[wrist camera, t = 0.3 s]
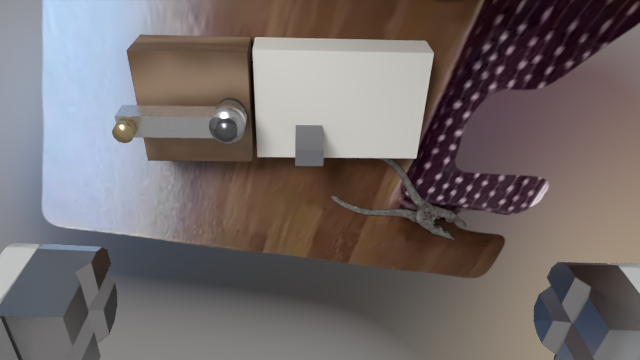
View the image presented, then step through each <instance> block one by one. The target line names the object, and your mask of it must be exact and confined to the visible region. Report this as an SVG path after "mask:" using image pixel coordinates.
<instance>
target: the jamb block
mask: <svg viewBox="0 0 640 360" xmlns="http://www.w3.org/2000/svg"><path fill="white" fill-rule="evenodd" d="M127 55H128V60H129V65H130V71H131V76H132V81H133V86H134V91H135V96H136V101H137V105H149V106H217V105H218V104H220V103H222V102H226V101H230V102H235V103H237V104H239V105H240V106H241V107H242V108H243V109H244V110H245V112H246V116H247V120H246V125H245V131H244V134H243V136H242V138H241V139H240V140H238V141H236V142H234V143H223V142H220V141H218V140H216V139H215V138H154V137H144V142H145V147H146V152H147V157H148V160H152V161H253V155H254V148H255V142H256V135H255V114H254V94H253V73H252V52H251V37H219V36H170V35H140V36H139V37H138V38H137V39H136V40H135V41H134V43H133V44H132V45H131V46H130V47H129V48H128V50H127Z"/></svg>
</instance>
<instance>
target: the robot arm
mask: <svg viewBox="0 0 640 360" xmlns="http://www.w3.org/2000/svg"><path fill="white" fill-rule="evenodd" d="M110 265H111V262H110V258H109V255H108V251H107V250H106V249H105V248H103V247H90V246H72V245H53V244H44V245H40V244H25V243H14V244H11V245H10V246H8V247H6V248H5V249H4V250H3V252H2V253H1V254H0V360H99V359H100V357H101V356H100V352H99V349H98V345H97V344H98V343H99V342H101V341H102V340H103V339H104V338H105V337H107V336H108V335H109V334H110V331H111V329H112V326H113V324H114V320H115V315H116V309H117V289H116V285H115V282H114V281H113V280H112V279H111V278H110V277H108V276H107V275H106V274H107V272H108V270H109V267H110ZM547 279H548V281H549V283H550V285H551V286H550V287H549V288H547V289H546V290H544V291H543V292H541V293H540V294H539V296H538V298H537V301H536V303H535V306H534V324H535V328H536V332H537V334H538V337H539V339H540V341H541V343H542V344H543V345H544V346H545V347H547V348H548V349H549V350H550V351H552V352H553V353H554V354H555V356H554V360H640V265H639V264H633V263H610V264H607V263H572V262H558V263H556V264H555V265H554V266H553V267H552V268H551V270H550V272H549V274H548V276H547Z"/></svg>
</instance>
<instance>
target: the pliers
mask: <svg viewBox="0 0 640 360" xmlns="http://www.w3.org/2000/svg"><path fill="white" fill-rule="evenodd" d="M379 159H381V160H383V161H385V162H386V163H388V164H389V165H390V166H392V167H393V168H394V169H395V170H396V171H397V173H398V174H399V175H400V177H401V179H402V181H403V183H404V185H405V187H406V189H407V191H408V194H409V196H410V197H411V199H412V200H413V202H414V203H415V204H416V206H417V207H418V208H419V209H418V211H412V210H404V209H380V210H373V209H363V208H358V207H355V206H352V205H350V204H347V203H346V202H344V201H342V200H341V199H339V198H338V197H336V196H335V195H332V199H333V200H334V201H336V202H337V203H338V204H340V205H342V206H343V207H345V208H347V209H350V210H352V211H355V212H358V213H362V214H367V215H384V216H401V217H405V218H408V219H410V220H411V221H414V222H417V223H419V224H420V225H421V226H423V227H424V228H425V229H427V230H429V231H430V232H432V233H433V234H436V235H440V236H443V237H446V238H449V239H452V240H454V237H453V236H452V235H451V234H450V233H449V232H447V231H444V230H443V229H442V227H441V226H440V225H439V226H434V223H435V222H434V220H435V219H439V218H441V217H445V220H446V222H454V223H456V224H457V225H459V226H463V227H467V226H466V223H465V222H464V221H463V220H462V219H460V218H459V217H458V216H457V215H455V214H454V213H453V212H451V211H448V210H445V209H442V208H439V207H436V206H432V205H431V204H429V203H428V202H426V201H425V200H423V199H422V198H421V197H420V196H419V194H418V193H417V192H416V190H415V189H414V187H413V185H412V183H411V182H410V180H409V178H408V176H407V175H406V173H405V172H404V170H403V169H402V168H401V167H400V166H399V165H398V164H397V163H395V162H394V161H393V160H391V159H389V158H379Z"/></svg>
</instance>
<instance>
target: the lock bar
mask: <svg viewBox="0 0 640 360" xmlns="http://www.w3.org/2000/svg"><path fill="white" fill-rule="evenodd" d="M115 119H116V125H115V127H114V128H113V130H112V134H113V136H114V138H115V139H116V140H117V141H119V142H122V143H128V142H130V141H131V140H132V139H133V137H154V138H215V139H216V140H218V141H220V142H223V143H234V142H236V141H238V140H240V139H241V138H242V136H243V134H244V131H245V125H246V120H247V116H246V112H245V110H244V109H243V108H242V107H241V106H240V105H239V104H237V103H235V102H230V101H226V102H222V103H220V104H218V105H217V106H149V105H122V106H121V108H120V109H119V111H118V112H117V114H116V115H115Z"/></svg>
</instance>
